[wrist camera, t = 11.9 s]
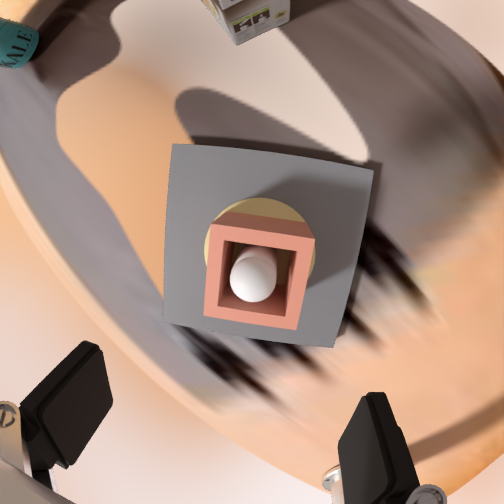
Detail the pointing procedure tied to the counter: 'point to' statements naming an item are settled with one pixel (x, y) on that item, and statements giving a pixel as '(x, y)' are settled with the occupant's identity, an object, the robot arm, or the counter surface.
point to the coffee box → (248, 16)
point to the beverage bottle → (16, 43)
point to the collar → (264, 234)
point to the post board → (271, 179)
